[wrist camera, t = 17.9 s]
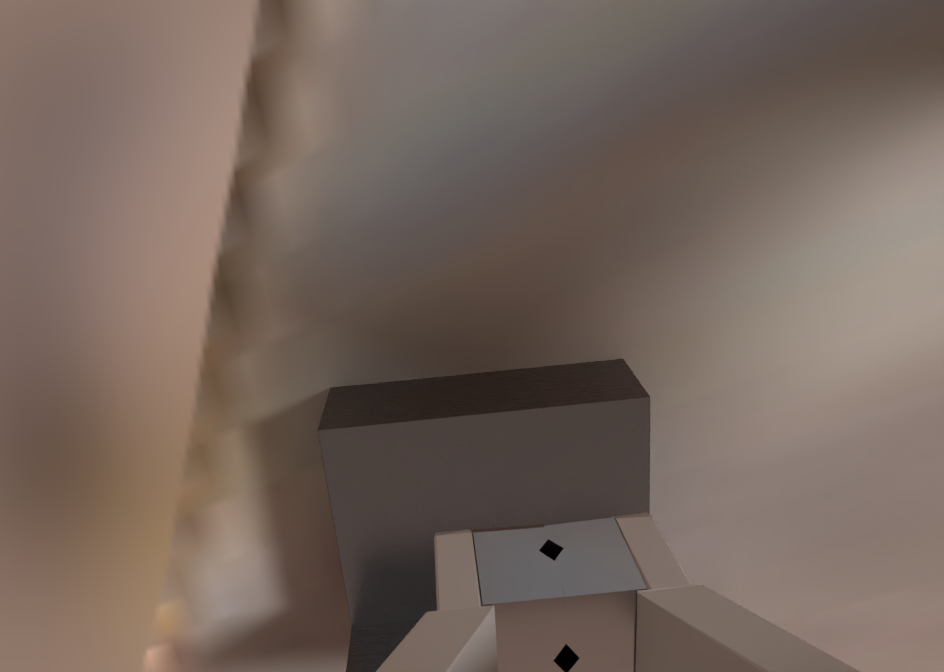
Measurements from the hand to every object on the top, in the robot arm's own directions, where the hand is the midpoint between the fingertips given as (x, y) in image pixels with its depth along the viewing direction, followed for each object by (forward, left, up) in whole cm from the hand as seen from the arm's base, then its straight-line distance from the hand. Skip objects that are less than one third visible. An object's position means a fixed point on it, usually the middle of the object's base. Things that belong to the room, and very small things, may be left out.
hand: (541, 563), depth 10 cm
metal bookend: (+10, 0, -19) cm, 21 cm away
